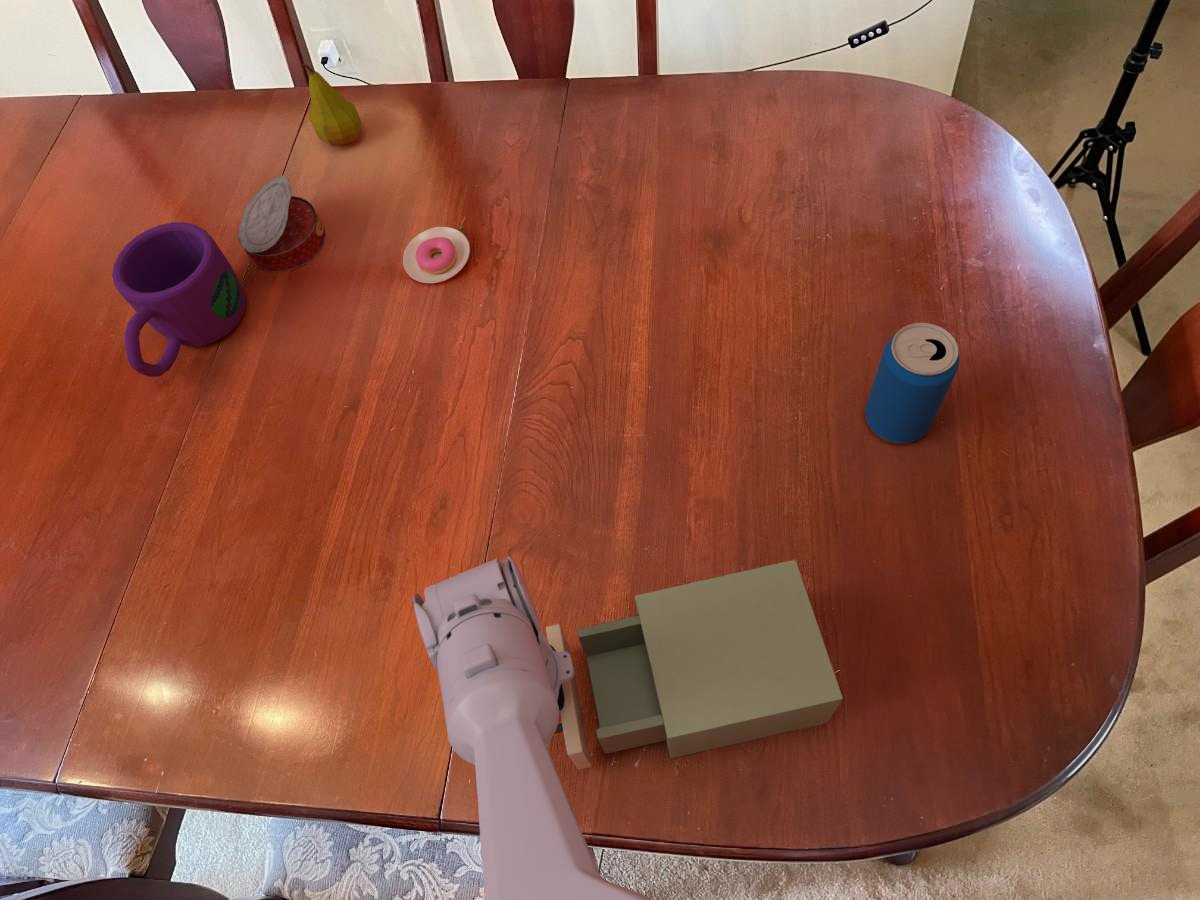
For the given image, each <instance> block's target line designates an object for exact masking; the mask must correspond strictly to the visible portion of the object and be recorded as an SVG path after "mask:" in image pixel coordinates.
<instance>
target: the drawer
mask: <svg viewBox="0 0 1200 900" xmlns="http://www.w3.org/2000/svg"><path fill="white" fill-rule="evenodd" d="M545 632H546V633H545V634H546V639H547V641H548V643H549V644H550V645H551V646H553V647H554V649H555V650H556V652H562V651H567V652H568V653H569V654H570V656H571V658H572V659H573V657H572V656H573V655H572V651H571V647H570V645H569V642H568V640H567V638H566V635H565V632H564V630H563V629H562V626H561V624H560V623H557V624H552V625H547V626H545ZM576 633H577V637H578V641H579V643H580V645H581V648H582V650H583V653H584V655H585V659H586V663H587V669H588V675H589V680H590V685H591V689H592V693H593V695H592V696H593V700H594V705H595V711H596V716H597V722H598V727H599V728H595V732H596V738H597V740H598V742H599V744H600V746H601V748H602V751H603V752H604V754H605V755H607V754H612V753H615V752H621V751H625V750H629V749H633V748H637V747H643V746H647V745H651V744H655V743H661V742H664V741H666V740H667V737H666V730H665V726H664V722H663V717H662V713H661V709H660V704H659V700H658V696H657V691H656V687H655V683H654V678H653V674H652V670H651V665H650V661H649V657H648V652H647V648H646V644H645V639H644V635H643V631H642V626H641V622H640V618H639V615H638V614H637V615H632V616H628V617H624V618H619V619H615V620H611V621H605V622H601V623H597V624H593V625H589V626H584V627H579V628H577V629H576ZM572 663H573V664H574V662H573V660H572ZM573 669H574V670H575V668H574V665H573ZM568 674H569V673H568ZM562 686H563V692H564V698H565V702H564V707H563V709H562V710H560V711H559V716H560V720H561V723H558V726H557V729H556V731H555V733H554V735H556V734H560V733H563V738H564V744H565V748H566V755H567V756H568V758H569V759H570V760H571V762H572V763H573V765H574V766H575V767H576V769H577V771H578V770H583V769H588V768H592V767H593V766H592V760H591V755H590V748H589V743H588V738H587V731H586V728H585V721H584V717H583V716H584V715H583V711H582V707H581V706H582V705H581V699H580V695H579V694H580V693H579V688H578V683H577V678H576V672H575V671H574V677H573V678H572V679H571V680H569V681H565V682H563V683H562Z"/></svg>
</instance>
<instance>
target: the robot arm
mask: <svg viewBox="0 0 1200 900" xmlns="http://www.w3.org/2000/svg"><path fill="white" fill-rule="evenodd" d="M506 557H507V558H506V559H502V560H501V561H500V560H499V558H497V557H496V558H493V559H492V560H489V561H486V562H484V563H482V564H479V565H477V566H474V567H472V568H469V569H467V570H464V571H462V572H460V573H457V574H455V575H453V576H450V577H448V578H446V579H442V580H440V581H438V582H436V583H432V584H431V585H428V586H425V588H424V590H423V591H424V593H423V594H424V599H425V600H424V599H423V597H422V596H421V595H420V594H419V593H417V592H414V593H413V595H412V602H413V608H414V615H415V619H416V624H417V627H418V630H419V633H420V637H421V639H422V642H423V645H424V647H425V650H426V652H427V656H428V658H429V660H430V662H431V664H432V666H433V668H434V670H435V671H436V674H437V675H438V681H439V685H440V687H439V688H440V692H441V700H442V706H443V712H444V719H445V727H446V733H447V738H448V742H449V743H450V746H451V748H452V749H453V751H454V752H455V754H457V755H458V756H459V758H461V759H462V760H463V761H465V762H467V763H468V764H470V765H473V766H474V768H475V781H476V794H477V795H476V796H477V809H478V824H479V837H480V838H479V839H480V853H481V866H482V868H481V869H482V880H483V894H484V895H483V896H484V900H653V898H651V897H649V896H648V895H645V894H643V893H640V892H638V891H635V890H632V889H630V888H626V887H624V886H623V885H618V884H616V883H613V882H611V881H609V880H607V879H606V878H604V877H602V875H601V874H600V872H599V870H598V868H597V865H596V863H595V860H594V858H593V855H592V853H591V851H590V847H589V846H588V843H587V841H586V838H585V836H584V834H583V831H582V829H581V827H580V824H579V822H578V819H577V817H576V814H575V812H574V809H573V808H572V805H571V803H570V800H569V797H568V795H567V793H566V790H565V788H564V786H563V783H562V781H561V779H560V776H559V773H558V771H557V769H556V767H555V763H554V762H553V759H552V757H551V755H550V752H549V751H550V745H551V740H552V739H553V737H554V735H555V734H554V733H555V731H556V729H557V726H558V724H559V721H560V710H562V709H563V707H564V702H565V698H564V692H563V686H562V683H563V682H565V681H569V680H571V679H572V678H573V677H574V672H575V668H574V669H573V666H574V662H573V663H572V661H573V657H572V658H571V656H572V655H571V656H570V654H569V653H568V652H567V651H562V652H556V650H555V649H554V647H553V646H551V645H550V644H549V643H548V639H547V637H546V636H545V634H544V633H543V631H542V626H541V621H540V619H539V616H538V613H537V610H536V607H535V605H534V603H533V601H532V600H533V599H532V597H531V595H530V592H529V590H528V587H527V584H526V582H525V580H524V577H523V575H522V573H521V571H520V569H519V567H518V566H517V564H516V562H514V560H513V559H512V558H511V556H509V555H508V556H506ZM568 673H569V674H568Z"/></svg>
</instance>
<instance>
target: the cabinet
mask: <svg viewBox="0 0 1200 900" xmlns="http://www.w3.org/2000/svg"><path fill="white" fill-rule="evenodd" d="M801 574H802V573H801V571H800V568H799V565H798V563H797V560H796V559H792V560H787V561H782V562H778V563H773V564H769V565H765V566H760V567H756V568H752V569H747V570H743V571H738V572H733V573H729V574H725V575H720V576H716V577H712V578H708V579H707V578H706V579H702V580H698V581H693V582H689V583H685V584H680V585H676V586H671V587H667V588H662V589H657V590H653V591H649V592H645V593H644V592H643V593H640V594H637V595H634V600H635V605H636V613H637V615H639V618H640V622H641V626H642V631H643V635H644V639H645V644H646V648H647V652H648V657H649V661H650V665H651V670H652V674H653V678H654V683H655V687H656V691H657V696H658V700H659V704H660V709H661V713H662V717H663V722H664V726H665V730H666V737H667V740H665V741H666V745H667V746H666V747H667V750H668V754H669V758H670V759H675V758H679V757H683V756H688V755H689V756H690V755H693V754H698V753H701V752H705V751H710V750H714V749H719V748H723V747H729V746H732V745H737V744H741V743H746V742H750V741H753V740H759V739H763V738H769V737H772V736H776V735H780V734H784V733H790V732H793V731H798V730H802V729H807V728H811V727H815V726H820V725H824V724H828V723H829V721H830V720H831V718H832V716H833V715H834V713H835V712H836V710H838V709H837V708H838V707H839V705H840V704H841V703H842V701H843V699H844V698H843V694H842V692H841V689H840V685H839V683H838V679H837V676H836V674H835V671H834V668H833V665H832V662H831V660H830V659H831V658H830V656H829V654H828V650H827V646H826V643H825V642H824V639H823V635H822V632H821V629H820V627H819V624H818V621H817V618H816V615H815V612H814V609H813V606H812V604H811V600H810V598H809V595H808V592H807V589H806V586H805V583H804V581H803V577H802V575H801Z"/></svg>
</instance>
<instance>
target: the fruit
mask: <svg viewBox="0 0 1200 900" xmlns="http://www.w3.org/2000/svg"><path fill="white" fill-rule="evenodd" d="M302 66H303V67H305V68H306V69H307V70H308V71H309V73H310V74H309V77H308V78H309V79H308V90H309V94H310V110H309V121H310V123H311V126H312V127H313V130H314V132H315V134H316V136H317V137H318V139H320V140H321V141H323V142H324V143H326V144H328V145H330V146H331V147H334V146H335V147H336V146H342V145H343V146H344V145H348V144H351V143H353V142H354V141H355V140H356V139H357V137H358V136H359V134H360V132H361V131H362V120H361V117H360V115H359V113H358V109H357V108H356V106H355V104H354V103H353V102H352V101H350V100H348V99H347V98H345V97H344V96H343V95H342V94H341V93H339V92H338V91H337V90H336V89H335V88H334V87H333V86H332V85H331V84H330V83H329V82H328V81H327V80H326V79H325V78H324V76H322V75H321V73H320V72H318V71H317V70H313V69H312V68H311V67H310V66H309V65H307V64H306V63H302Z"/></svg>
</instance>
